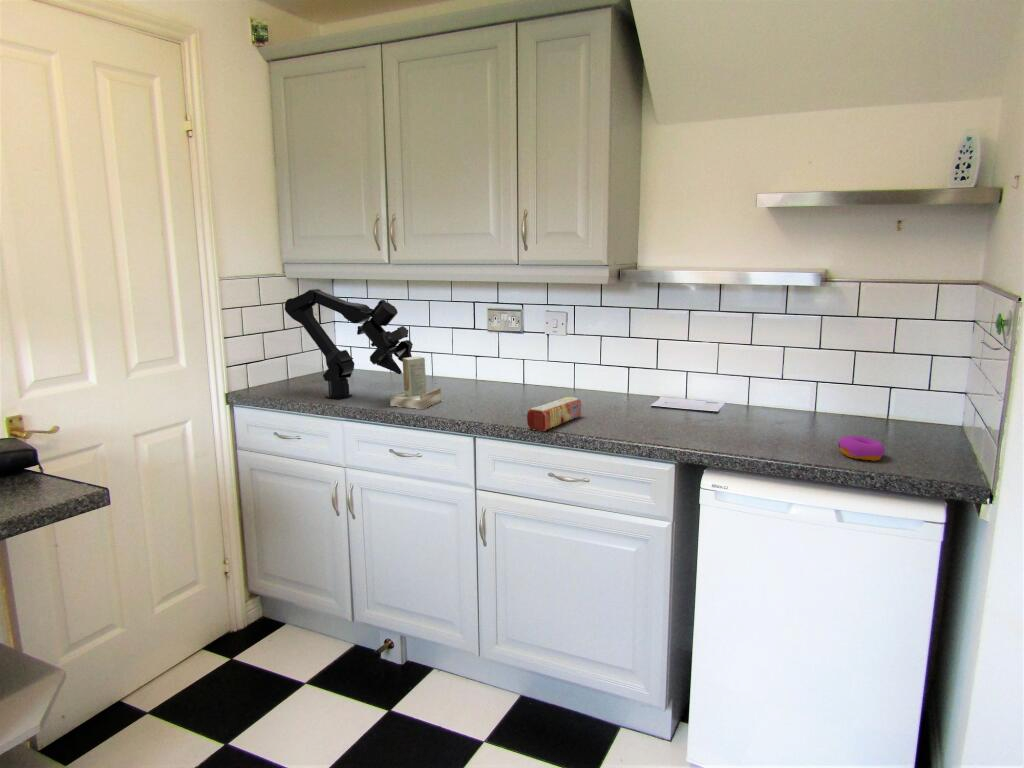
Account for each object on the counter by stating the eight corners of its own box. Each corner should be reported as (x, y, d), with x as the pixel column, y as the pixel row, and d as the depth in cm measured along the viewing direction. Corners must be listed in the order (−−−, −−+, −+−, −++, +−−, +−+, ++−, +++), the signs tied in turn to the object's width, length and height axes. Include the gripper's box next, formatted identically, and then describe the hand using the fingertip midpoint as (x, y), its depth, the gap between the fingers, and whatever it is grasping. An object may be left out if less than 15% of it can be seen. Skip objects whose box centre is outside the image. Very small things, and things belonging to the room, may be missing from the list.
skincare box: (420, 392, 231) (419, 355, 229) (427, 394, 228) (425, 357, 225) (403, 394, 228) (401, 357, 225) (409, 396, 224) (407, 359, 222)
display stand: (390, 406, 225) (390, 392, 224) (409, 398, 236) (408, 385, 235) (423, 409, 221) (422, 395, 220) (440, 401, 232) (440, 388, 231)
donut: (885, 465, 164) (887, 446, 163) (838, 460, 168) (840, 442, 167) (880, 452, 174) (882, 435, 173) (836, 448, 177) (837, 431, 176)
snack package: (564, 415, 214) (564, 393, 212) (583, 418, 210) (583, 396, 209) (525, 430, 197) (525, 407, 195) (545, 434, 193) (545, 410, 192)
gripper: (376, 322, 217) (408, 359, 216) (407, 316, 234) (436, 350, 232) (356, 345, 222) (387, 382, 220) (387, 338, 239) (416, 372, 237)
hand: (408, 370), depth 227 cm, fingers open, 9 cm apart
